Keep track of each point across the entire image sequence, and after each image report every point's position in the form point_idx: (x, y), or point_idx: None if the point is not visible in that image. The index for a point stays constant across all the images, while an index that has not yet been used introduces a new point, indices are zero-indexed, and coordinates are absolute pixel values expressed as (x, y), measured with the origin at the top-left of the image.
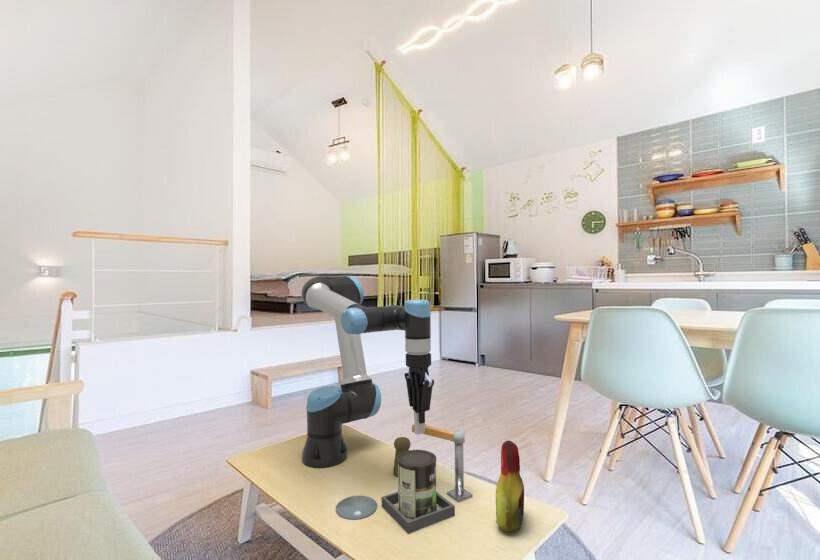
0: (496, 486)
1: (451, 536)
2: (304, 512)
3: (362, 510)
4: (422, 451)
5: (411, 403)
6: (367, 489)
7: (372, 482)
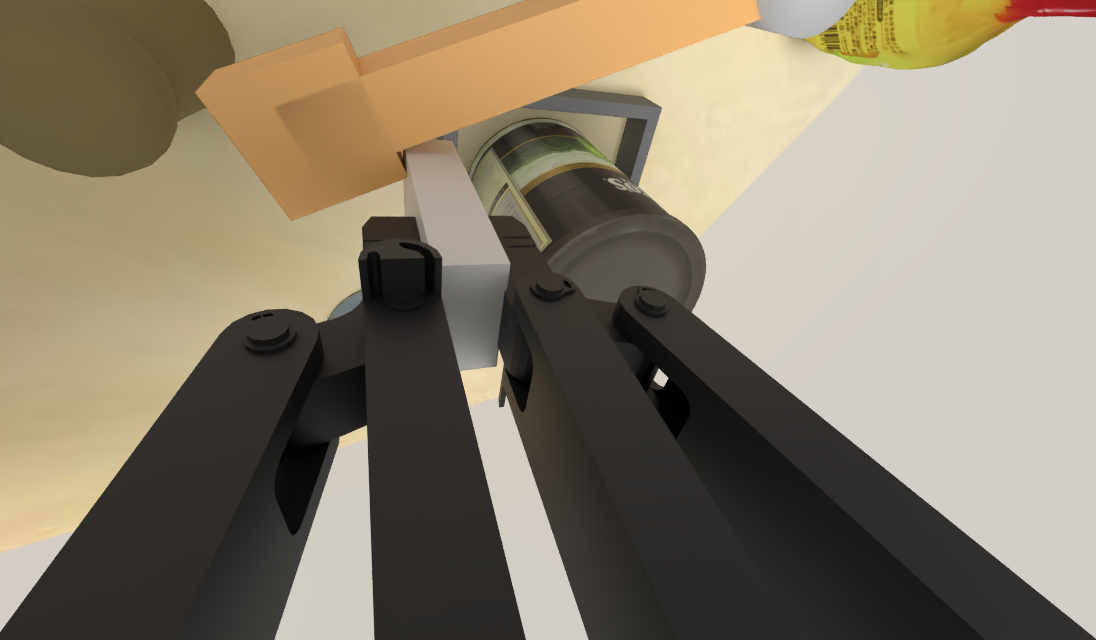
0: (912, 38)
1: (687, 180)
2: (346, 437)
3: None
4: (584, 248)
5: (333, 454)
6: (286, 275)
7: (222, 236)
